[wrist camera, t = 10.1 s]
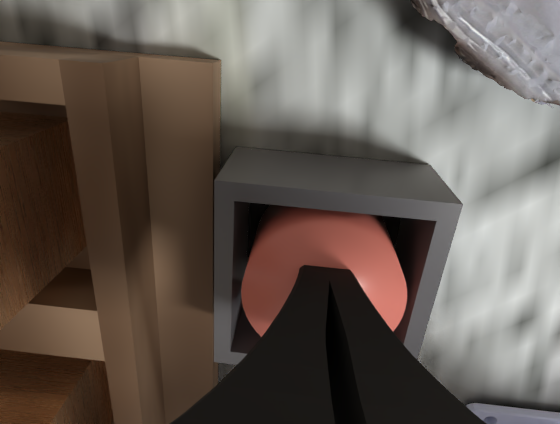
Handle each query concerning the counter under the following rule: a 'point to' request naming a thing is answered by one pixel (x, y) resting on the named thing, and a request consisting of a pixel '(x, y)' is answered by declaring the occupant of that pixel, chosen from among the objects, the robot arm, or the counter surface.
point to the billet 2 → (53, 390)
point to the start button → (320, 260)
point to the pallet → (129, 220)
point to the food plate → (506, 41)
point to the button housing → (335, 197)
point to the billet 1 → (35, 207)
